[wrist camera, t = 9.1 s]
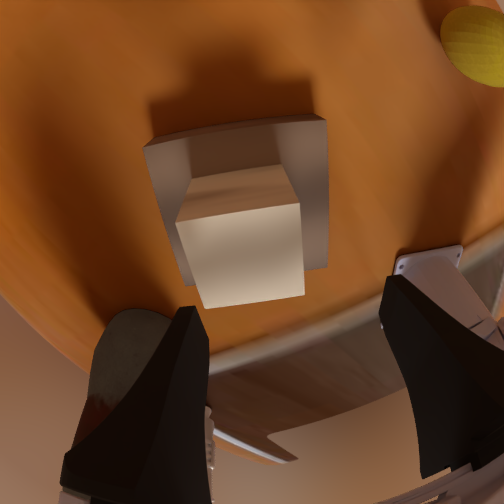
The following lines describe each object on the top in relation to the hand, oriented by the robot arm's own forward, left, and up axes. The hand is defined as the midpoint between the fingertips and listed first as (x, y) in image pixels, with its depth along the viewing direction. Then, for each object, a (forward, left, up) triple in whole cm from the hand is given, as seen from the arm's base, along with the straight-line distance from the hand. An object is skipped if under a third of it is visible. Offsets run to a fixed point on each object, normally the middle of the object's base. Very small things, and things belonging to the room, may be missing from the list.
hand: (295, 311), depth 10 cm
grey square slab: (0, +2, -11) cm, 11 cm away
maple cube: (0, +2, -8) cm, 8 cm away
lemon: (+11, -14, -11) cm, 21 cm away
